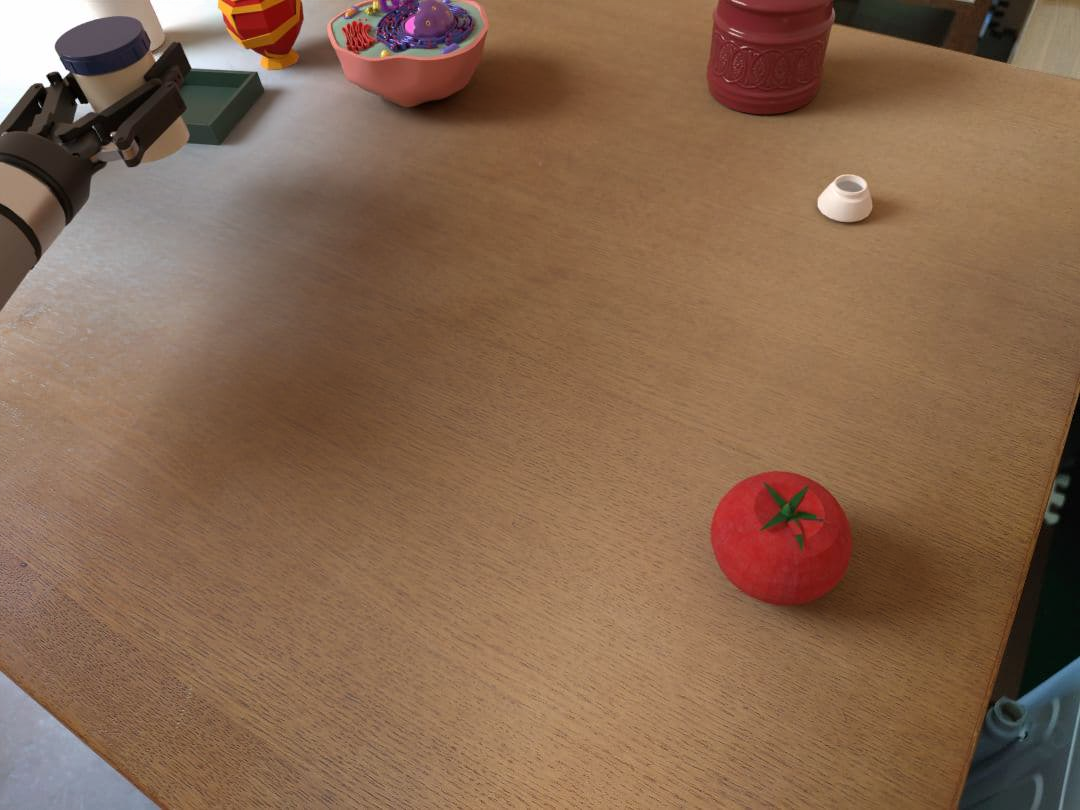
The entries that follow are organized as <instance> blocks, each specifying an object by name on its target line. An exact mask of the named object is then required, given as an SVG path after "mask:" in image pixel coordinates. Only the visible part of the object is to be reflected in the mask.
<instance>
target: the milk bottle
mask: <svg viewBox="0 0 1080 810" xmlns="http://www.w3.org/2000/svg"><path fill="white" fill-rule="evenodd" d="M83 1H84V3H85V4H86V6H87V9H88V10H89V12H90V14H91V17H92V18H93V20H95V19H100V18H105V17H112V16H127V17H132V18H135V19H137V20H139V21H140V22H141V23H142V25H143V27H144V30H145V31H146V32H147V34H148V37H149V39H150V41H151V45H150V50H151V52H153V51H154V50H157V49H158V48H159V47H161V46H162V45H163V44H164V42H165V38H166V35H165V32H164V28H163V27H162V24H161V22H160V21H159V18H158V16H157V13H156V11H155V9H154V7H153V4H152V2H151V0H83Z"/></svg>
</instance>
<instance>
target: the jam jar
mask: <svg viewBox="0 0 1080 810" xmlns="http://www.w3.org/2000/svg"><path fill="white" fill-rule="evenodd" d="M156 61H157V60H156V57H155V56H154V54H153V51H151V50H150V49H149V51H148V52H147V53H146V54H145V55H144V56H143V57H142V58H141V59H139V60H138V61H136V62H134V63H133V64H131V65H129V66H127V67H124V68H121V69H119V70H116V71H112V72H108V73H104V74H97V75H78V74H74V73H72V74H73V76H74V77H75V79H76V81H77V83H78V84H79V86H80V88H81V90H82V91H83V93H84V95H85V97H86V99H87V100H88V102H89V103H88V104H89V106H90V107H91V109H92V112H95V113H98V114H99V113H100V112H102V111H103V110H105V109H106V108H108V107H109V106H111V105H112V104H114V103H116V102H117V101H119V100H120V99H122V98H123V97H125V96H126V95H128V94H129V93H131V92H132V91H134V90H135V89H137V88H138V87H140V86H142V85H143V84H145V83H146V81H145V79H144V77H143V76H144V75H145V74H146V73H147V72H148V70H149V69H150V68H151V67H152V66H153V65H154V63H155V62H156ZM189 135H190V134H189V130H188V128H187V126H186V124H185V122H184V120H183V117H182V115H181V116H180V117H179V118H178V119H177V120H176V121H175V122H174V123H173V124H172V125H171V126H170V127H169V128H168V129H167V130H166V131H165V132H164V133H163V134H162V135H161V136H160V137H159V138H158V139H157V140H156V141H155V142H154V143H153V144H152V145H151V146H150V147H149V148H148V149H147V150H146V151H145V153H144V156H143V158H142V160H141V163H140V164H145V163H151V162H152V163H153V162H156V161H160V160H163V159H166V158H167V157H170V156H172V155H173V154H176V153H177V152H178V151H180V150H181V149H182V148H183V147H184V146H186V144H187V141H188V139H189Z"/></svg>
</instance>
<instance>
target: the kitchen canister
mask: <svg viewBox="0 0 1080 810" xmlns="http://www.w3.org/2000/svg"><path fill="white" fill-rule="evenodd" d="M834 1H835V0H718V2H717V3H716V5H715V6H714V7H713V11H712V20H713V22H712V32H711V33H712V34H711V43H710V53H709V60H708V63H707V67H706V79H707V88H708V91H709V94H710V95H711V96H712V98H713V99H714V100H716V101H717V102H718V103H719V104H721V105H723V106H725V107H726V108H729V109H730V110H734V111H737V112H742V113H747V114H751V115H776V114H783V113H788V112H791V111H795V110H797V109H800V108H802V107H804V106H805V105H807V104H808V103H810V102H811V101H812V100H813V99H814V98H815V96H816V95H817V91H818V89H819V87H820V85H821V83H822V79H823V75H824V71H825V70H824V65H825V64H824V63H825V59H826V54H827V49H828V45H829V41H830V40H829V39H830V35H831V31H832V27H833V25H834V23H835V20H836V12H835V8H834Z"/></svg>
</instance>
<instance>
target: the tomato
mask: <svg viewBox="0 0 1080 810" xmlns="http://www.w3.org/2000/svg"><path fill="white" fill-rule="evenodd" d="M710 524H711V525H710V530H709V531H710V542H711V547H712V550H713V554H714V557H715V560H716V562H717V564H718V566H719V568H720V570H721V572H722V573H723V574H724V576H725V577H726V579H727V580H728V581H729V582H730V583H731V584H732V585H733V586H735V587H736V589H738V590H739V591H741V592H742V593H744V594H745V595H747V596H749V597H750V598H753V599H755V600H757V601H760V602H762V603H766V604H769V605H773V606H783V607H784V606H787V607H790V606H798V605H804V604H806V603H810V602H813V601H815V600H817V599H818V598H820V597H822V596H823V595H825V594H827V593H828V592H830V591H831V590H833V589H834V588H835V587H836V586H837V585H838V584H839V583H840V582H841V580H842V579H843V577H844V576H845V574H846V572H847V570H848V568H849V566H850V565H849V564H850V561H851V558H852V553H853V538H852V530H851V525H850V524H851V523H850V522H849V518H848V517H847V514H846V512H845V510H844V509H843V507H842V506H841V504H840V503H839V501H838V500H837V498H836V497H835V496H834V495H833V494H832V493H831V492H830V491H829V490H828V489H827V488H825V487H824V486H823V485H822V484H820V483H819V482H817V481H815V480H813V479H811V478H810V477H807V476H805V475H802V474H800V473H795V472H791V471H781V470H773V471H764V472H760V473H757V474H754V475H751V476H748V477H746V478H744V479H743V480H740V481H738V482H737V483H736V484H735V485H734V486H732V487H731V488H730V489H729V490H728V491H727V492H726V493H725V495H724V496H723V497H722V498H721V500H720V501H719V502H718V504H717V506H716V508H715V511H714V512H713V516H712V519H711V523H710Z"/></svg>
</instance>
